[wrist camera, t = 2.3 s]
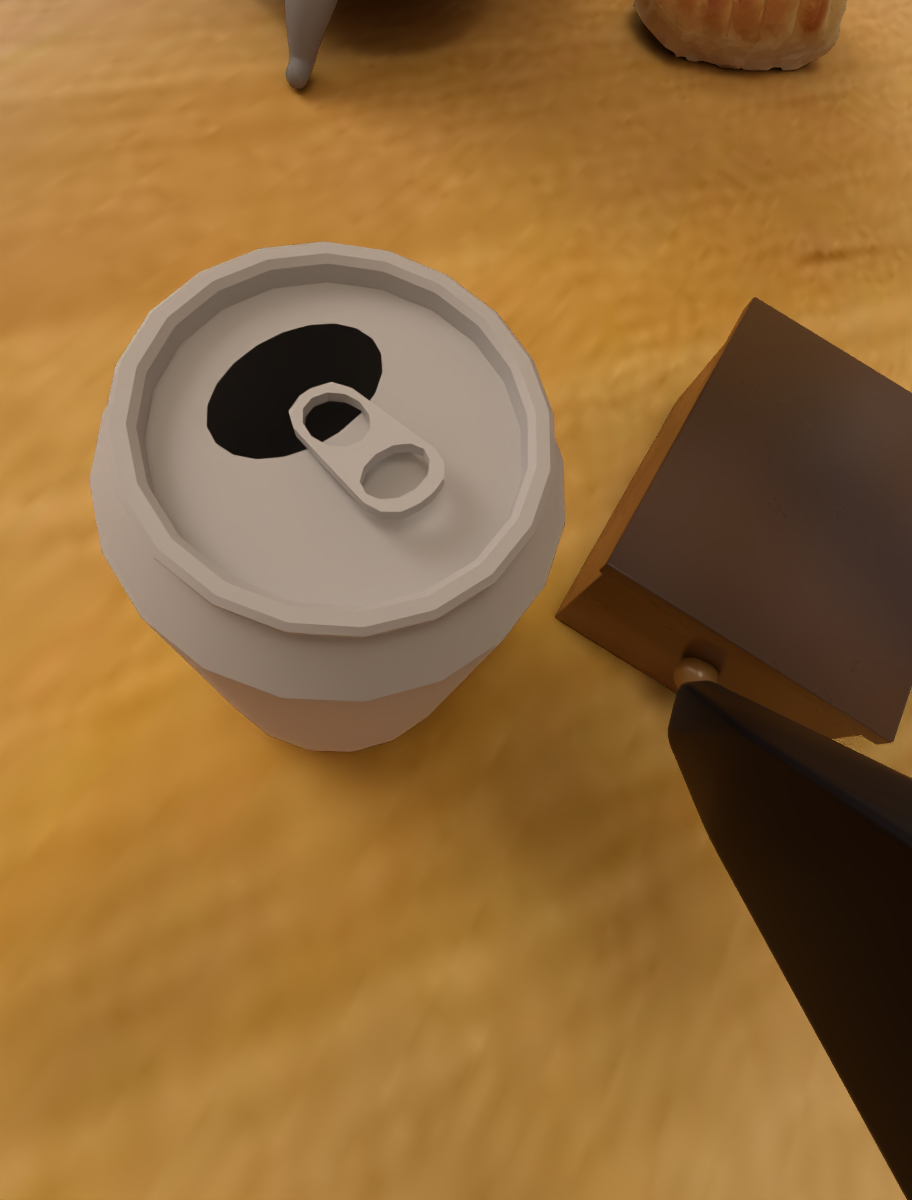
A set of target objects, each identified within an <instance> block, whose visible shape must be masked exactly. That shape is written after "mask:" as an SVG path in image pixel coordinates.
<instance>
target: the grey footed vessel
mask: <svg viewBox="0 0 912 1200" xmlns="http://www.w3.org/2000/svg"><path fill="white" fill-rule="evenodd" d="M337 1H338V0H285V15H286V26H287V35H288V44H289V64H288V67H287V69H286V78H287V81H288V82H289V84H290V85H291V86H292V87H294V88H296V89H301V88H303V87H304V86H305V85H306V83H307V81H308V79H309V77H310V75H311V72H312V69H313V66H314V63H315V59H316V56H317V53H318V49H319V46H320V43H321V41H322V38H323V35H324V33H325V30H326V28H327V25H328V23H329V20H330V18H331V16H332V13H333V11H334V8H335V6H336V4H337Z"/></svg>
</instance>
